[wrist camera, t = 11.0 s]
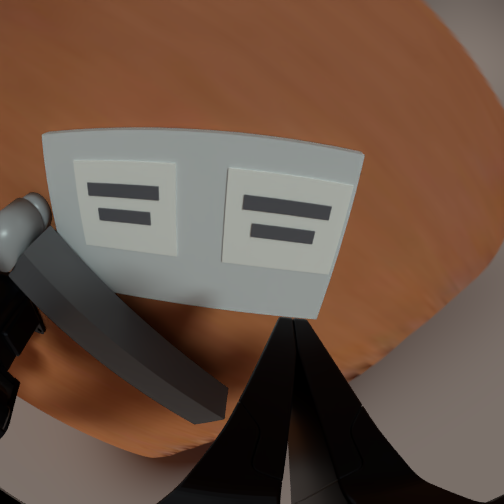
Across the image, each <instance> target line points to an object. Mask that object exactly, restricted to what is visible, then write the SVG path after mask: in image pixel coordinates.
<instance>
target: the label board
mask: <svg viewBox="0 0 504 504" xmlns="http://www.w3.org/2000/svg"><path fill="white" fill-rule="evenodd" d="M42 143H43V152H44V161H45V168H46V175H47V182H48V188H49V194H50V199H51V205H52V210H53V215H54V219H55V224H56V228H57V233H58V234H59V236H60V237H61V238H62V239H63V240H64V241H65V242H66V244H67V245H68V246H69V247H70V248H71V249H72V250H73V251H74V252H75V253H76V255H77V256H78V257H79V258H80V259H81V260H82V261H83V262H84V263H85V264H86V265H87V266H88V267H89V268H90V269H91V270H92V271H93V272H94V273H95V274H96V275H97V276H98V277H99V278H100V279H101V280H102V281H103V282H104V283H105V284H106V285H107V286H108V287H109V288H110V289H111V290H112V291H113V292H114V293H120V294H125V295H131V296H137V297H143V298H148V299H155V300H161V301H167V302H173V303H180V304H187V305H194V306H201V307H208V308H215V309H223V310H231V311H239V312H248V313H257V314H266V315H275V316H285V317H296V318H307V319H317V316H318V313H319V310H320V307H321V305H322V302H323V299H324V296H325V293H326V290H327V287H328V284H329V281H330V278H331V275H332V272H333V268H334V265H335V262H336V259H337V256H338V252H339V249H340V246H341V243H342V239H343V236H344V232H345V229H346V225H347V222H348V218H349V215H350V211H351V208H352V204H353V200H354V196H355V192H356V189H357V185H358V181H359V177H360V173H361V169H362V164H363V160H364V156H365V155H364V154H363V153H362V152H360V151H355V150H351V149H346V148H341V147H335V146H330V145H325V144H319V143H313V142H307V141H301V140H295V139H288V138H281V137H274V136H266V135H257V134H248V133H239V132H228V131H216V130H201V129H183V128H95V129H77V130H63V131H52V132H47V133H45V134H42ZM23 198H25V199H27V200H29V201H30V202H31V203H32V204H33V205H34V206H35V207H36V208H37V210H38V212H39V213H40V215H41V218H42V221H43V228H44V230H45V229H47V228H48V227H49V225H50V224H51V220H52V214H51V209H50V207H49V205H48V203H47V201H46V200H45V199H44V198H43V197H42V196H41V195H40V194H38V193H35V192H31V193H29V194H27V195H26V196H24V197H23ZM44 230H43V231H44Z"/></svg>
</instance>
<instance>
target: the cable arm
mask: <svg viewBox="0 0 504 504" xmlns="http://www.w3.org/2000/svg"><path fill="white" fill-rule="evenodd" d="M43 230H44V228H43V221H42V218H41V215H40V213H39V212H38V210H37V208H36V207H35V206H34V205H33V204H32V203H31V202H30V201H29V200H27V199H25V198H17V199H15V200H14V201H13V202H11V203H10V204H9V205H7V206H6V207H5V208H3V209H2V210H1V211H0V271H2V272H9V271H10V270H11V269H12V268H13V269H12V271H11V272H10V274H9V277H10V278H11V279H12V280H13V281H14V283H15V284H16V285H17V286H18V287H19V288H20V289H21V290H22V291H23V292H24V293H25V294H26V295H27V297H28V298H29V299H30V300H31V301H32V302H33V303H34V304H35V305H36V306H37V307H38V308H39V309H40V310H41V311H42V312H43V313H44V314H45V315H47V316H48V317H49V318H50V319H51V320H52V321H53V322H54V323H55V324H56V325H57V326H58V327H59V328H60V329H62V330H63V331H64V332H65V333H66V334H67V335H68V336H69V337H71V338H72V339H73V340H74V341H75V342H76V343H78V344H79V345H80V346H81V347H82V348H84V349H85V350H86V351H87V352H88V353H90V354H91V355H92V356H93V357H95V358H96V359H97V360H98V361H100V362H101V363H102V364H104V365H105V366H106V367H107V368H109V369H110V370H111V371H113V372H114V373H115V374H117V375H118V376H120V377H121V378H122V379H124V380H125V381H126V382H128V383H129V384H131V385H132V386H134V387H135V388H137V389H138V390H139V391H141V392H142V393H144V394H145V395H147V396H148V397H150V398H152V399H153V400H155V401H156V402H158V403H159V404H161V405H162V406H164V407H166V408H167V409H169V410H171V411H172V412H174V413H176V414H177V415H179V416H181V417H182V418H184V419H186V420H188V421H189V422H191V423H193V424H200V423H206V422H212V421H218V420H223V419H225V411H226V402H227V394H228V387H226V386H225V385H223V384H222V383H221V382H219V381H218V380H217V379H215V378H214V377H213V376H211V375H210V374H209V373H207V372H206V371H205V370H203V369H202V368H201V367H199V366H198V365H197V364H195V363H194V362H193V361H192V360H190V359H189V358H188V357H187V356H185V355H184V354H183V353H182V352H180V351H179V350H178V349H177V348H175V347H174V346H173V345H172V344H171V343H169V342H168V341H167V340H166V339H165V338H163V337H162V336H161V335H160V334H159V333H158V332H156V331H155V330H154V329H153V328H152V327H151V326H150V325H148V324H147V323H146V322H145V321H144V320H143V319H142V318H141V317H139V316H138V315H137V314H136V313H135V312H134V311H133V310H132V309H131V308H130V307H128V306H127V305H126V304H125V303H124V302H123V301H122V300H121V299H120V298H119V297H118V296H117V295H116V294H115V293H114V292H113V291H112V290H111V289H110V288H109V287H108V286H107V285H106V284H105V283H104V282H103V281H102V280H101V279H100V278H99V277H98V276H97V275H96V274H95V273H94V272H93V271H92V270H91V269H90V268H89V267H88V266H87V265H86V264H85V263H84V262H83V261H82V260H81V259H80V258H79V257H78V256H77V255H76V253H75V252H74V251H73V250H72V249H71V248H70V247H69V246H68V245H67V244H66V242H65V241H64V240H63V239H62V238H61V237H60V236H59V234H58V233H57V232H56V231H55V230H54V229H53V228H52V226H51V225H50V226H49V227H48V228H47V229H46V230H45V231H44V232H43Z"/></svg>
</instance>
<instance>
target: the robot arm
mask: <svg viewBox="0 0 504 504" xmlns="http://www.w3.org/2000/svg"><path fill="white" fill-rule="evenodd" d="M9 274H10V273H9V272H2V271H0V438H1V437H2V436H3V435H4V434H5V432H6V431H7V429H8V426H9V424H10V420H11V416H12V411H13V407H14V403H15V399H16V396H17V392H18V389H19V385H20V382H19V381H18V380H17V379H16V378H14V377H13V376H12V375H11V374H10V373H9V372H8V369H9V368H10V366H11V364H12V362H13V361H14V359H15V357H16V356H19V355H20V354H21V352H22V351H23V349H24V347H25V346H26V344H27V342H28V341H29V339H30V337H31V336H32V334H33V333H34V331H35V332H38V333H41V334H44V332H45V331H46V329H45V327H44V325H43V323H42V320H41V318H40V316H39V314H38V312H37V310H36V308H35V305H34V303H33V302H32V301H31V300H30V299H29V298H28V297H27V295H26V294H25V293H24V292H23V291H22V290H21V289H20V288H19V287H18V286H17V285H16V284H15V283H14V281H13V280H12V279H11V278H10V277H9ZM361 406H362V404H361V402H360V401H359V399H358V398H357V396H356V395H355V393H354V391H353V390H352V389H351V387H350V385H349V384H348V382H347V381H346V379H345V377H344V376H343V374H342V373H341V371H340V370H339V368H338V367H337V365H336V364H335V362H334V361H333V359H332V357H331V356H330V354H329V353H328V351H327V350H326V348H325V347H324V345H323V344H322V342H321V341H320V339H319V338H318V336H317V334H316V333H315V331H314V330H313V328H312V327H311V325H310V324H309V322H308V321H307V320H306V319H298V318H294V319H293V320H292V318H287V317H279V318H278V320H277V322H276V325H275V327H274V329H273V331H272V333H271V335H270V338H269V340H268V342H267V344H266V346H265V348H264V350H263V352H262V354H261V357H260V359H259V361H258V363H257V365H256V367H255V369H254V371H253V373H252V375H251V377H250V379H249V381H248V383H247V385H246V387H245V389H244V391H243V393H242V395H241V397H240V399H239V402H238V403H237V405H236V407H235V409H234V411H233V413H232V414H231V416H230V418H229V420H228V421H227V423H226V425H225V427H224V428H223V430H222V431H221V432H220V434H219V435H218V437H217V438H216V440H215V441H214V442H213V444H212V445H211V446H210V448H209V449H208V450H207V451H206V453H205V454H204V456H203V457H202V458H201V459H200V461H199V462H198V463H197V464H196V465H195V467H194V468H193V469H192V470H191V472H190V473H189V474H188V475H187V477H185V479H184V480H183V481H182V482H181V483H180V484H179V485H178V486H177V487H176V488H175V489H174V490H173V491H172V492H170V493H169V494H168V495H167V496H166V497H164V498H163V499H162V500H161V501H159V502H158V503H157V504H280V497H281V487H282V480H283V474H284V466H285V458H286V451H287V443H288V448H289V465H290V484H291V504H504V495H502V496H499V497H497V498H495V499H493V500H491V501H488V502H486V503H484V502H477V501H473V500H471V499H468V498H465V497H463V496H460V495H457V494H455V493H452V492H450V491H447V490H445V489H442V488H440V487H437V486H435V485H433V484H430V483H428V482H426V481H425V480H423V479H422V478H420V477H419V476H418V475H417V474H416V473H415V472H414V471H413V470H412V469H411V468H410V467H409V466H408V465H407V463H406V462H405V461H404V460H403V459H402V457H401V456H400V455H399V454H398V453H397V451H396V450H395V449H394V448H393V447H392V446H391V444H390V443H389V442H388V441H387V439H386V438H385V437H384V435H382V433H381V432H380V430H379V429H378V428H377V426H376V425H375V423H374V422H373V421H372V419H371V418H370V416H369V414H368V413H367V411H366V410H365V408H364V407H363V406H362V407H361ZM0 504H25V503H23V502H22V501H20V500H18V499H17V498H15V497H14V496H12V495H11V494H9V493H8V492H6V491H5V490H3V489H2V488H0Z"/></svg>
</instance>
